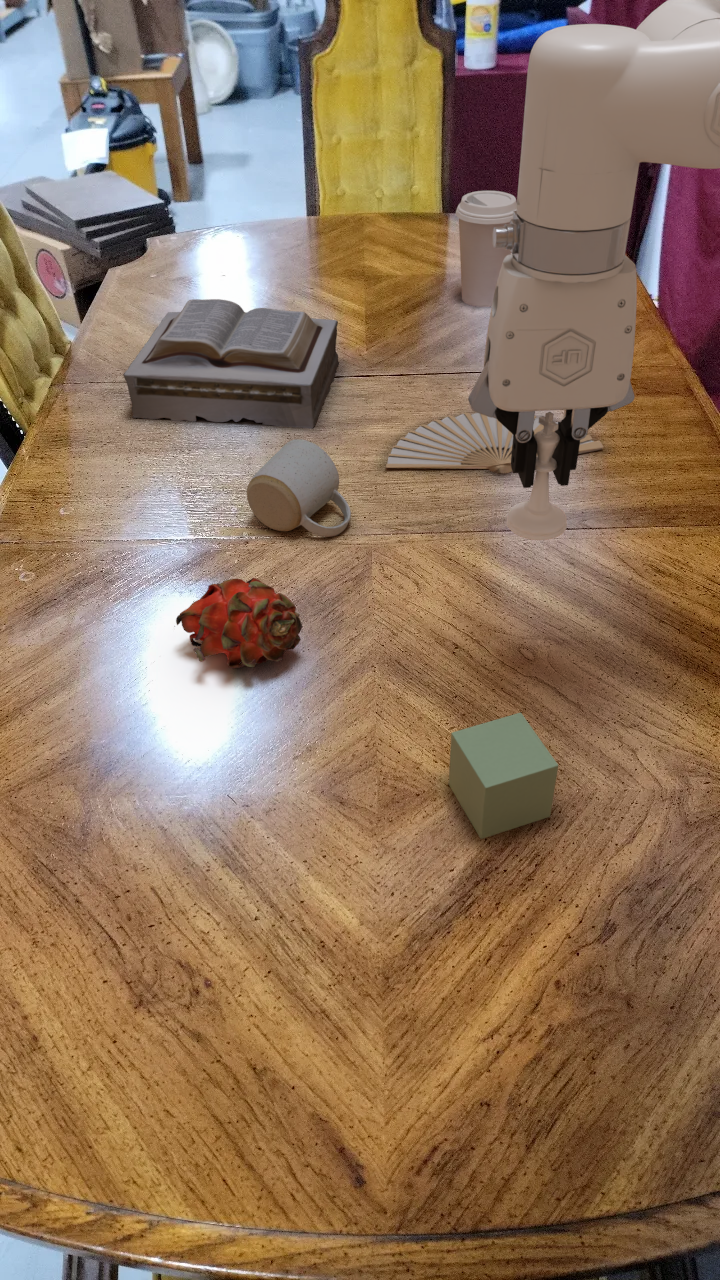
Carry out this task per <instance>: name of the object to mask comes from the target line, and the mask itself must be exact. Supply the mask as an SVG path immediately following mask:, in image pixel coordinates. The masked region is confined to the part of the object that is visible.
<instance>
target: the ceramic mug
mask: <svg viewBox="0 0 720 1280" xmlns="http://www.w3.org/2000/svg"><path fill="white" fill-rule="evenodd" d="M339 487H340V474H339V471H338V469H337V466H336V464H335V462H334V460H333V459H332V457H331V456H330V455H329V454H328V453H327V451H325V450H324V449H322V447H320V445H318V444H316V443H314V442H312V441H309V440H307V439H302V438H299V439H298V438H297V439H292V440H290V441H288V442H286V443H285V444H284V445H283V446H282V447H281V448H280V449H279V450H278V451H276V452H275V454H274V455H273V456H272V457H271V458H270V459H269V460H268V461H267V462H266V463H265V464H263V466H262V467H260V469H258V471H256V472H255V474H254V475H253V477H252V478H251V479H250V481H249V483H248V485H247V488H246V499H247V504H248V506H249V508H250V510H251V512H252V513H253V514H254V516H255V517H256V519H257V520H258V521H260V522H261V523H262V524H263V525H264V526H266V527H268V528H269V529H272V530H274V531H278V532H289V531H292V530H294V529H297V528H298V527H300V526H302V527H303V528H304V529H305V530H306V531H308V532H309V533H312V534H314V535H317V536H318V537H326V538H329V537H335V536H338V535H341V533H343V532H344V531H345V530H346V528H347V527H348V524H349V523H350V521H351V518H352V511H351V508H350V505H349V503H348V501H347V500H346V499H345V497H344V496H343V495H342V494H341V493H340V492H339ZM329 501H332V502H333V503H334V504H335V506H337V507H338V509H339V510H340V511H341V513H342V515H343V517H344V518H343V519H344V520H343V521H342V522H341V523H340V524H337V525H334V526H325V525H322V524H320V523H318V522H316V521H314V520H313V519H311V517H312V516H313V515H314V514H316V513H317V512H318V511H319V510H321V508H323V507H324V506H325V505H326V504H328V502H329Z"/></svg>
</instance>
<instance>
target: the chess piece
mask: <svg viewBox="0 0 720 1280" xmlns="http://www.w3.org/2000/svg"><path fill="white" fill-rule="evenodd" d="M554 416H555V415H554V412H551V411H547V412H545V414H544V415H541V416H540V417H538V418H539V423H540V424H542V425H543V426H544V430H542V431H539V432H537V433H535V435H534V437H535V439H536V442H537V446H538V447H537V455H538V456H536V465H535V474H534V483H533V486H532V487H531V492H530V495H529V499H528V500H525V501H521V502H518V503H516V504H514V505H513V506H511V508H510V509H509V510H508V513H507V517H506V521H505V522H506V526H507V528H508V529H509V530H510V531H511V532H512V533H513V534H515V536H517V537H521V538H523V539H527V540H530V541H531V540H532V541H547V540H553V539H556V538H558V537H560V536H562V535H563V534H564V533H565V532H566V530H567V527H568V522H567V521H568V518H567V514H566V513H565V511H564V510H563V509H562V508H561V507H560V506H558V505H556V504H554V503H552V502H550V472H553V470H555V469H556V468H557V462H556V460H555V459H553V458H552V455H553V453H554V450H555V448H556V447H557V445H558V443H559V441H560V437H559V435H558V434H557V433H555V432H553V431H556V430H558V425H559V424H557V423H555V422H556V421H554Z"/></svg>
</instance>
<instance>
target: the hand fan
mask: <svg viewBox="0 0 720 1280" xmlns="http://www.w3.org/2000/svg"><path fill="white" fill-rule="evenodd" d="M554 422H555V423H557V424H558V422H559V421H554ZM542 430H544V426H543V425H542V424H540V423H539V417H537V415H535V416H534V424H533V431H534V435H535V433H537V432H539V431H542ZM553 432H555V431H553ZM512 444H513V434H512V433H511V432H510V431H509V430H508V429H507V428H506V427H504V426H503V425H502V424H501V423H500V422H499V421H498V420H497V419H495V418H493V417H492V418H491V417H488V416H485V415H482V414H480V413H477V412H474V413H472V414H471V413H470V412H463V413H461V414H459V415H457V416H455V415H449V414H447V416H446V417H444V418H442V419H438V418H433V420H432V421H431V422H429V423H428V424H425V423H423V424H420V425H419V426H418V427H417V428H416V429H415V430H412V429H411V430H408V433H406V435H405V436H401V437H399V440H398V441H397V444H394V445H392V446H391V447H392V449H391V452H390V453H388V454H387V456H388V457H387V463H386V464H385V468H386V469H464V470H465V469H466V470H468V469H474V470H477V469H478V470H482V469H483V470H488V471H489V472H491V473H496V472H497V474H500V475H501V474H502V475H503V474H504V475H506V474H510V473H512V472H513V471H512V468H511V455H512ZM604 448H605V447H604V445H603V443H602V442H601V440H600V439H598V440H593V437H592V436H591V434H590V433H587V435H586V437H585V438H583V439H581V440H580V445H579V452H578V455H580V454H585V453H590V452H596V451H601V450H603V449H604ZM537 456H538V455H537Z"/></svg>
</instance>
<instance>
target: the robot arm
mask: <svg viewBox="0 0 720 1280" xmlns="http://www.w3.org/2000/svg"><path fill="white" fill-rule="evenodd" d="M525 87H526V88H525V99H524V100H525V101H524V110H523V111H524V113H523V124H522V137H521V150H520V161H519V173H518V184H517V196H516V203H517V207H516V210H517V211H514V212H513V219H511V221H510V224H505V226H504V227H494V229H493V246H494V248H502V247H504V249H505V250H507V249H509V250H510V252H511V254H510V255H507V256H506V257H505V258H504V260H503V263H502V266H501V269H500V273H499V277H498V280H497V284H496V288H495V293H494V297H493V302H492V306H491V308H490V314H489V319H488V325H487V332H486V340H485V347H484V355H483V368H482V371H481V372H480V374H479V376H478V378H477V380H476V382H475V384H474V385H473V388H472V390H470V391H471V392H470V393H469V395H468V398H467V401H468V404H469V407H470V409H471V411H472V412H473V413H480V414H482V415H485V416H488V417H491V418H492V417H493V418H495V419H497V420H498V421H499V422H500V423H501V424H502V425H503V426H504V427H506V428H507V429H508V430H509V431H510V432H511V433H512V434H513V444H512V451H511V454H512V455H511V454H510V455H511V468H512V471H511V472H512V474H518V476H519V480H520V482H521V485H522V488H523V489H527V488H532V487H533V484H534V480H535V475H536V470H535V465H536V456H537V447H538V446H537V442H536V439H535V437H534V431H533V424H534V416H536V412H545V411H547V412H549V411H563V418H562V419H561V420H560V421H557V422H558V424H559V425H558V430H556V431H555V433H557V434H558V435H559V437H560V441H559V443H558V445H557V447H556V448H555V450H554V453H553V455H552V458H553V459H555V460H556V462H557V468H556V469H555V470H553V471H552V473H553V475H554V477H555V480H556V482H557V484H558V485H560V486H561V487H562V486H563V487H566V486H567V487H568V486H569V484H570V483H569V482H570V476H571V471H576V469H577V467H578V466H577V465H578V460H579V459H578V458H579V454H578V452H579V445H580V440H581V439H583V438H585V437H586V435H588V434H589V433H588V431H589V430H590V429H591V428H592V427H593V426H594V425H596V424H597V423H598V422H599V421H600V420H601V419H603V418H604V417H605V416H606V415H607V414H608V412H609V413H610V412H613V411H616V410H618V409H621V408H622V407H626V406H628V405H629V404H631V403H633V402H634V401H635V398H636V397H635V392H634V389H633V386H632V383H631V379H632V372H633V371H632V370H633V363H634V351H635V339H636V326H637V306H638V305H637V303H638V302H637V300H638V298H637V297H638V294H637V293H638V292H637V291H638V290H637V289H638V286H637V285H638V283H637V282H638V281H637V267H636V264H635V263H634V261H632V260H631V259H630V258H629V256H627V255H626V251H627V245H628V238H629V233H630V226H631V225H630V224H631V219H632V212H633V208H634V207H633V206H634V200H635V193H636V186H637V180H638V174H639V170H640V169H639V167H640V163H650V164H651V163H652V164H662V165H669V166H678V167H685V168H691V169H692V168H693V169H704V170H714V169H716V170H717V169H720V0H666V1H665V2H663V3H661V4H660V5H659V6H657V8H655V9H654V10H653V11H652V12H650V14H649V15H647V17H645V19H644V20H643V21H642V22H641V23H640V24H638V26H637V27H636V29H635V28H633V27H628V26H623V25H615V24H605V23H604V24H603V23H581V24H569V25H563V26H558V27H557V26H556V27H554V28H552V29H549V30H546V31H545V32H543V33H542V34H541V35H539V37H538V38H537V40H536V41H535V42H534V44H533V46H532V48H531V50H530V53H529V57H528V66H527V74H526V86H525Z"/></svg>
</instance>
